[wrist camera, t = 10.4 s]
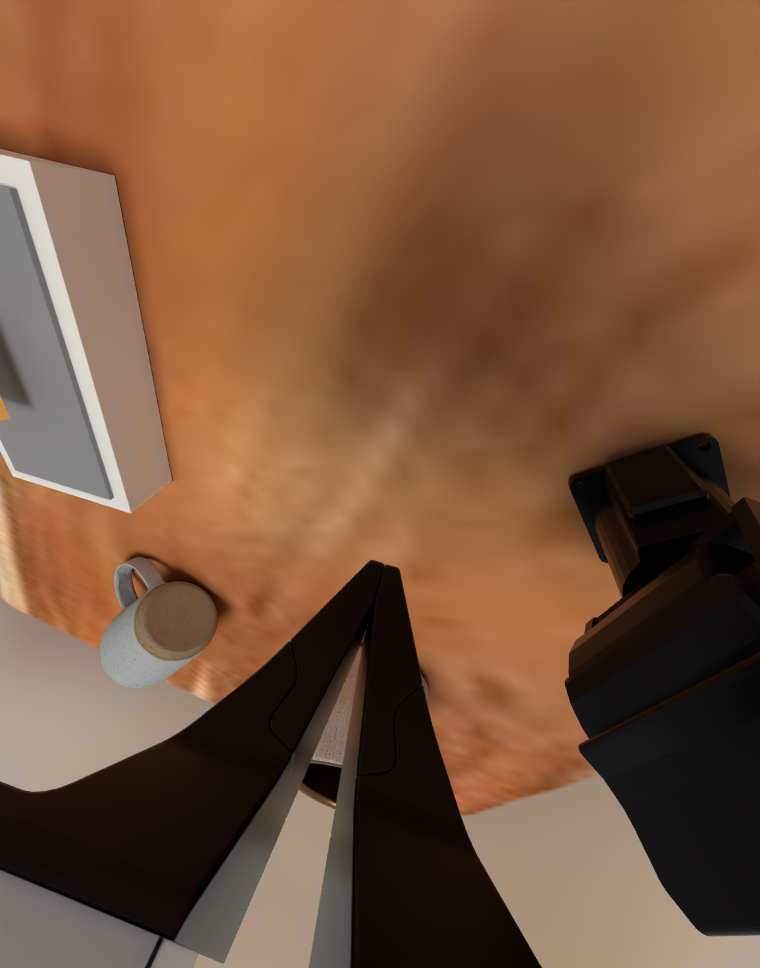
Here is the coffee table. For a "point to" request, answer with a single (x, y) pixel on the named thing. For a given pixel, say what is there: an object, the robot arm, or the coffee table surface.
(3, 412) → the lever
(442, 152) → the coffee table surface
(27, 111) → the coffee table surface
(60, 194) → the breaker housing
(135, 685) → the ceramic mug
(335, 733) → the planter
